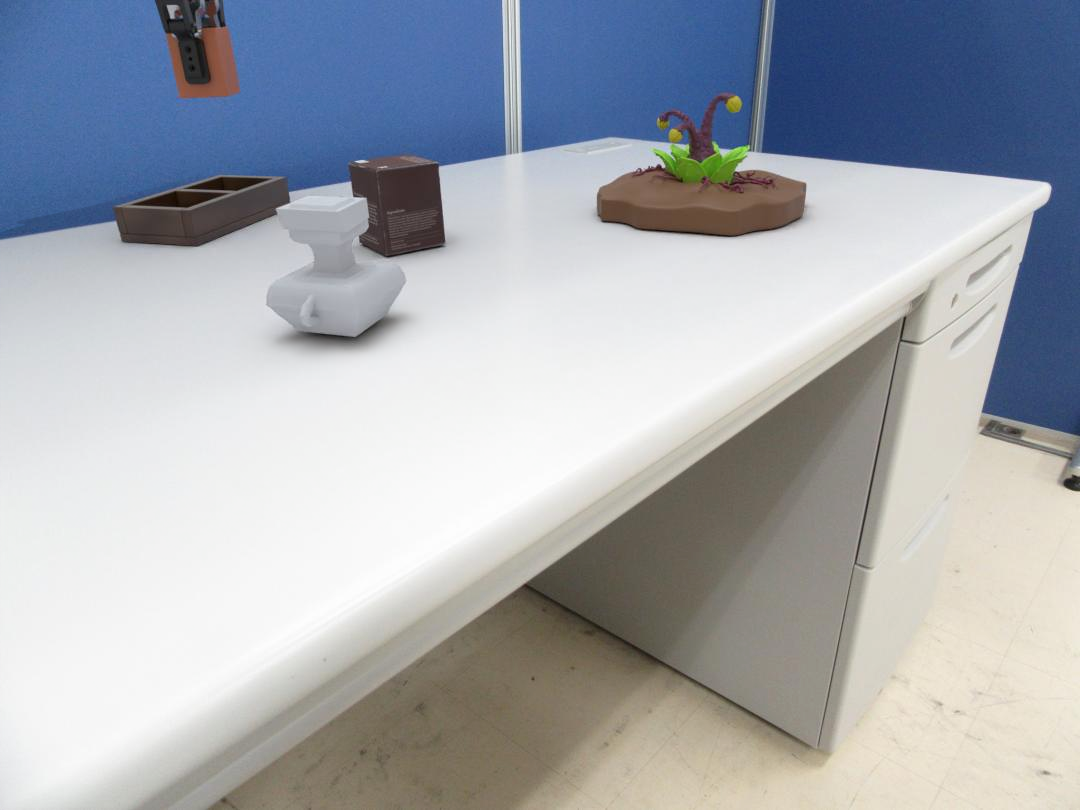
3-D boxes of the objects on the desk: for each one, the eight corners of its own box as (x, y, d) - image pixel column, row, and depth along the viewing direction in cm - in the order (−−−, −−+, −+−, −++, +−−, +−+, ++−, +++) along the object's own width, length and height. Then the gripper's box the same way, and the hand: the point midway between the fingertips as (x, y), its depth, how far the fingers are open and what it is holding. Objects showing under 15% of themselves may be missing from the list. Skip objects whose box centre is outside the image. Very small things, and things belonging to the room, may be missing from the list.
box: (447, 246, 70) (440, 161, 67) (385, 258, 67) (375, 170, 64) (417, 232, 75) (409, 153, 72) (357, 243, 72) (346, 160, 69)
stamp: (354, 357, 48) (335, 219, 44) (261, 347, 50) (235, 214, 46) (417, 308, 56) (405, 187, 52) (334, 302, 58) (317, 184, 54)
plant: (760, 245, 68) (774, 107, 63) (568, 220, 78) (567, 99, 73) (827, 200, 83) (843, 86, 78) (658, 184, 93) (662, 81, 88)
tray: (121, 241, 75) (112, 206, 73) (225, 204, 88) (219, 174, 87) (197, 246, 73) (189, 210, 71) (291, 207, 86) (286, 176, 85)
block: (179, 98, 76) (164, 29, 73) (194, 93, 80) (181, 28, 77) (227, 96, 76) (214, 28, 74) (240, 92, 80) (228, 27, 78)
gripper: (152, -113, 76) (192, 77, 84) (86, -138, 63) (140, 89, 71) (231, -115, 77) (263, 75, 84) (181, -140, 64) (225, 86, 71)
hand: (207, 80), depth 78 cm, fingers closed on block, 4 cm apart
